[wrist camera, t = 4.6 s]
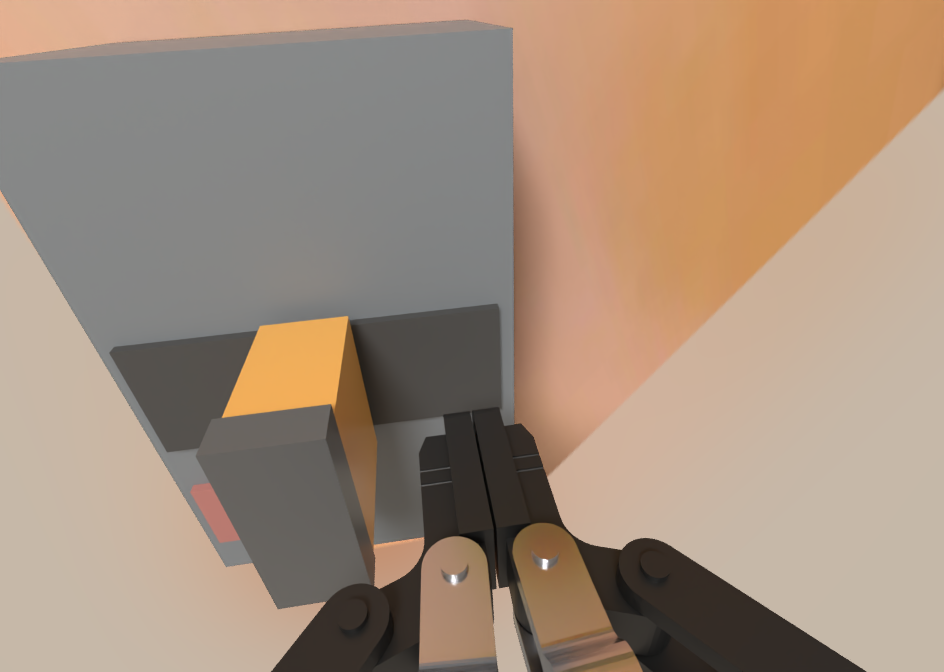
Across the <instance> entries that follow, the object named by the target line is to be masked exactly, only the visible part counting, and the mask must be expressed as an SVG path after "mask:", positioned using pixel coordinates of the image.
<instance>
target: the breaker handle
mask: <svg viewBox="0 0 944 672" xmlns="http://www.w3.org/2000/svg"><path fill="white" fill-rule="evenodd" d="M196 458H197V460H198V462H199V464H200V466H201V468H202V469H203V471H204V473H205V475H206V477H207V479H208V481H209V482H210V484H211V486H212V488H213V490H214V492H215V494H216V495H217V497H218V499H219V501H220V503H221V505H222V506H223V508H224V510H225V512H226V514H227V516H228V518H229V519H230V521H231V523H232V525H233V527H234V529H235V531H236V532H237V534H238V536H239V538H240V540H241V542H242V544H243V545H244V547H245V549H246V551H247V553H248V555H249V557H250V558H251V560H252V562H253V564H254V566H255V568H256V569H257V571H258V573H259V575H260V577H261V578H262V581H263V582H264V584H265V586H266V588H267V590H268V592H269V594H270V595H271V597H272V599H273V601H274V603H275V605H276V606H277V608H278V609H282V608H288V607H294V606H300V605H307V604H313V603H319V602H326V601H328V600H329V599H330V598H331V597H332V596H333V595H334V594H335V593H336V592H338V591H339V590H341V589H342V588H344V587H347V586H349V585H353V584H359V583H364V584H370V585H373V586H374V577H375V576H374V575H375V574H374V573H375V555H374V552H373V546H374V519H375V491H376V463H377V439H376V435H375V430H374V426H373V421H372V417H371V413H370V408H369V404H368V400H367V395H366V391H365V386H364V382H363V378H362V373H361V369H360V365H359V360H358V356H357V352H356V347H355V343H354V338H353V334H352V330H351V325H350V321H349V317H348V316H344V317H335V318H326V319H317V320H308V321H299V322H290V323H282V324H273V325H264V326H260V327H259V329H258V332H257V334H256V337H255V339H254V341H253V344H252V346H251V349H250V351H249V353H248V356H247V358H246V361H245V363H244V365H243V368H242V370H241V373H240V375H239V377H238V380H237V382H236V385H235V387H234V389H233V392H232V394H231V397H230V399H229V402H228V404H227V406H226V409H225V411H224V414H223V416H222V418H217V419H212V420H211V422H210V424H209V426H208V429H207V431H206V433H205V436H204V438H203V440H202V442H201V445H200V447H199V449H198V451H197V454H196Z"/></svg>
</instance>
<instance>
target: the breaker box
mask: <svg viewBox="0 0 944 672" xmlns="http://www.w3.org/2000/svg"><path fill="white" fill-rule="evenodd" d="M0 190H1V192H2V194H3V195H4V197H5V199H6V200H7V202H8V204H9V205H10V207H11V209H12V210H13V212H14V214H15V215H16V217H17V219H18V220H19V222H20V224H21V225H22V227H23V229H24V230H25V232H26V234H27V235H28V237H29V239H30V240H31V242H32V244H33V245H34V247H35V249H36V250H37V252H38V254H39V255H40V257H41V259H42V260H43V262H44V264H45V265H46V267H47V269H48V271H49V272H50V274H51V276H52V277H53V279H54V280H55V282H56V284H57V285H58V287H59V289H60V290H61V292H62V294H63V296H64V297H65V299H66V300H67V302H68V304H69V306H70V307H71V309H72V311H73V312H74V314H75V316H76V317H77V319H78V321H79V322H80V324H81V325H82V327H83V329H84V331H85V332H86V334H87V335H88V337H89V339H90V340H91V342H92V344H93V346H94V347H95V349H96V351H97V352H98V354H99V355H100V357H101V359H102V361H103V362H104V364H105V366H106V367H107V369H108V370H109V372H110V374H111V376H112V377H113V379H114V381H115V382H116V384H117V386H118V387H119V389H120V391H121V392H122V394H123V396H124V397H125V399H126V401H127V402H128V404H129V406H130V407H131V409H132V411H133V412H134V414H135V415H136V417H137V419H138V420H139V422H140V424H141V425H142V427H143V429H144V431H145V432H146V434H147V436H148V437H149V439H150V441H151V442H152V444H153V446H154V447H155V449H156V451H157V452H158V454H159V456H160V457H161V459H162V461H163V462H164V464H165V466H166V467H167V469H168V471H169V472H170V474H171V476H172V477H173V479H174V481H175V482H176V484H177V486H178V487H179V489H180V491H181V492H182V494H183V496H184V497H185V499H186V501H187V502H188V504H189V505H190V507H191V509H192V511H193V512H194V514H195V515H196V517H197V519H198V521H199V522H200V524H201V526H202V527H203V529H204V531H205V532H206V534H207V536H208V537H209V539H210V541H211V543H212V544H213V546H214V548H215V549H216V551H217V552H218V554H219V556H220V557H221V559H222V561H223V563H224V564H225V566H226V567H228V566H235V565H241V564H248V563H253V562H252V560H251V558H250V557H249V555H248V553H247V551H246V549H245V547H244V545H243V544H242V542H241V540H240V538H239V536H238V534H237V532H236V531H235V529H234V527H233V525H232V523H231V521H230V519H229V518H228V516H227V514H226V512H225V510H224V508H223V506H222V505H221V503H220V501H219V499H218V497H217V495H216V494H215V492H214V490H213V488H212V486H211V484H210V482H209V481H208V479H207V477H206V475H205V473H204V471H203V469H202V468H201V466H200V464H199V462H198V460H197V458H196V454H197V451H198V449H199V447H200V445H201V442H202V440H203V438H204V436H205V433H206V431H207V429H208V426H209V424H210V422H211V420H212V419H217V418H222V416H223V414H224V411H225V409H226V406H227V404H228V402H229V399H230V397H231V394H232V392H233V389H234V387H235V385H236V382H237V380H238V377H239V375H240V373H241V370H242V368H243V365H244V363H245V361H246V358H247V356H248V353H249V351H250V349H251V346H252V344H253V341H254V339H255V337H256V334H257V332H258V329H259V327H260V326H264V325H273V324H282V323H290V322H299V321H308V320H317V319H326V318H335V317H344V316H348V317H349V321H350V325H351V330H352V334H353V338H354V343H355V347H356V352H357V356H358V360H359V365H360V369H361V373H362V378H363V382H364V386H365V391H366V395H367V400H368V404H369V408H370V413H371V417H372V421H373V426H374V430H375V435H376V439H377V463H376V491H375V519H374V544H381V543H388V542H394V541H401V540H407V539H414V538H421V537H424V525H423V510H422V495H421V480H420V464H419V451H420V449H421V447H422V445H423V442H424V440H425V438H426V437H430V436H437V435H444V434H445V427H444V418H443V414H450V413H458V412H465V411H470V414H471V418H472V410H479V409H486V408H493V407H499V409H500V412H501V416H502V420H503V423H504V426H507V425H514V252H513V28H509V27H503V26H498V25H493V24H487V23H482V22H476V21H471V20H457V21H442V22H426V23H411V24H396V25H381V26H366V27H350V28H335V29H320V30H305V31H290V32H274V33H259V34H244V35H229V36H214V37H198V38H183V39H168V40H153V41H138V42H122V43H110V44H103V45H95V46H88V47H80V48H73V49H65V50H58V51H50V52H42V53H35V54H27V55H20V56H12V57H5V58H0Z"/></svg>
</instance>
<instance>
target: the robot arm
mask: <svg viewBox="0 0 944 672" xmlns="http://www.w3.org/2000/svg"><path fill="white" fill-rule="evenodd" d="M443 418H444V427H445V434H444V435H437V436H430V437H426V438H425V440H424V442H423V445H422V447H421V449H420V451H419V464H420V480H421V495H422V510H423V525H424V550H423V553H422V556H421V557H420V559H419V561H418V563H417V564H416V565H415V567H414V568H413V569H412V570H411V571H410V572H409V573H408V574H406V575H405V576H403V577H402V578H400V579H398V580H396V581H394V582H392V583H390V584H389V585H387V586H385V587H383V588H381V589H378V588H377V587H375V586H373V585H370V584H364V583H359V584H353V585H349V586H347V587H344V588H342V589H341V590H339V591H338V592H336V593H335V594H334V595H333V596H332V597H331V598H330V599H329V600H328V601H327V602H326V604H325V605H324V606H323V607H322V608H321V610H320V611H319V612H318V614H317V615H316V616H315V617H314V619H313V620H312V621H311V622H310V624H309V625H308V626H307V627H306V629H305V630H304V631H303V632H302V634H301V635H300V636H299V637H298V639H297V640H296V641H295V643H294V644H293V645H292V646H291V648H290V649H289V650H288V651H287V653H286V654H285V655H284V656H283V658H282V659H281V660H280V662H279V663H278V664H277V665H276V667H275V668H274V669H273V671H271V672H498V667H497V659H496V648H495V637H494V627H493V623H494V615H493V614H494V612H493V595H492V589H496V574H497V579H498V584H499V588H503V587H509V589H510V594H511V599H512V604H513V619H514V624H515V628H516V631H517V635H518V639H519V642H520V646H521V649H522V653H523V657H524V660H525V664H526V667H527V671H528V672H866V671H865V670H863V669H862V668H860V667H858V666H857V665H855V664H854V663H852V662H851V661H849V660H848V659H846V658H844V657H843V656H841V655H839V654H838V653H837V652H835V651H833V650H832V649H830V648H829V647H827V646H826V645H824V644H822V643H821V642H819V641H818V640H816V639H815V638H813V637H812V636H810V635H808V634H807V633H805V632H804V631H802V630H801V629H799V628H798V627H796V626H794V625H793V624H791V623H790V622H788V621H787V620H785V619H783V618H782V617H780V616H779V615H777V614H776V613H774V612H772V611H771V610H769V609H768V608H766V607H764V606H763V605H762V604H760V603H759V602H757V601H755V600H754V599H752V598H751V597H749V596H747V595H746V594H744V593H743V592H741V591H740V590H738V589H736V588H735V587H733V586H732V585H730V584H729V583H727V582H726V581H724V580H723V579H721V578H719V577H718V576H716V575H715V574H713V573H712V572H710V571H708V570H707V569H705V568H704V567H702V566H701V565H699V564H697V563H696V562H694V561H693V560H691V559H690V558H688V557H687V556H685V555H684V554H682V553H680V552H679V551H677V550H676V549H674V548H672V547H671V546H669V545H668V544H666V543H664V542H661V541H659V540H655V539H650V538H641V539H636V540H633V541H631V542H629V543H628V544H627V545H626V546H625V547H624V548H623V549H622V550H618V549H611V548H605V547H599V546H594V545H590V544H588V543H585V542H583V541H581V540H579V539H578V538H576V537H575V536H573V535H572V534H571V533H570V532H569V531H568V530H567V529H566V527H565V526H564V524H563V522H562V520H561V518H560V515H559V512H558V509H557V506H556V503H555V500H554V497H553V494H552V491H551V488H550V485H549V482H548V479H547V476H546V473H545V470H544V469H543V464H542V461H541V458H540V456H539V452H538V449H537V446H536V443H535V440H534V437H533V436H532V435H531V434H530V433H529V432H528V431H527V430H526V429H525V427H524V426H523V425H522V424H514V425H507V426H504V423H503V420H502V416H501V412H500V409H499V407H493V408H486V409H479V410H472V418H471V414H470V411H465V412H458V413H450V414H443ZM495 569H496V570H495Z"/></svg>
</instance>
